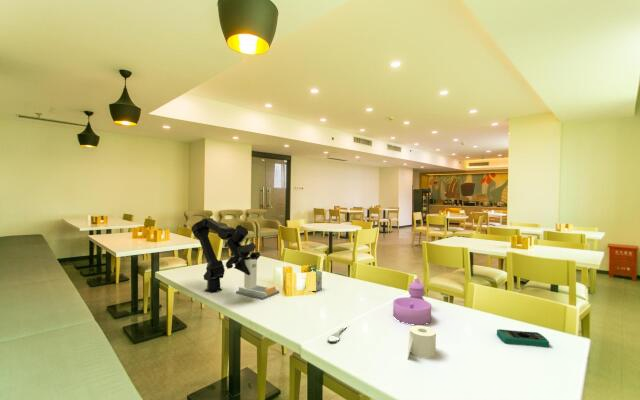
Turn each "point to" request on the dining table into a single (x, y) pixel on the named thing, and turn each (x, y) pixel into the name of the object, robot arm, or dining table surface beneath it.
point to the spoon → (336, 334)
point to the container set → (413, 306)
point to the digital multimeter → (522, 338)
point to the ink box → (317, 277)
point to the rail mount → (258, 292)
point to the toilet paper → (422, 341)
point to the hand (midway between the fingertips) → (252, 273)
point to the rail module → (250, 279)
